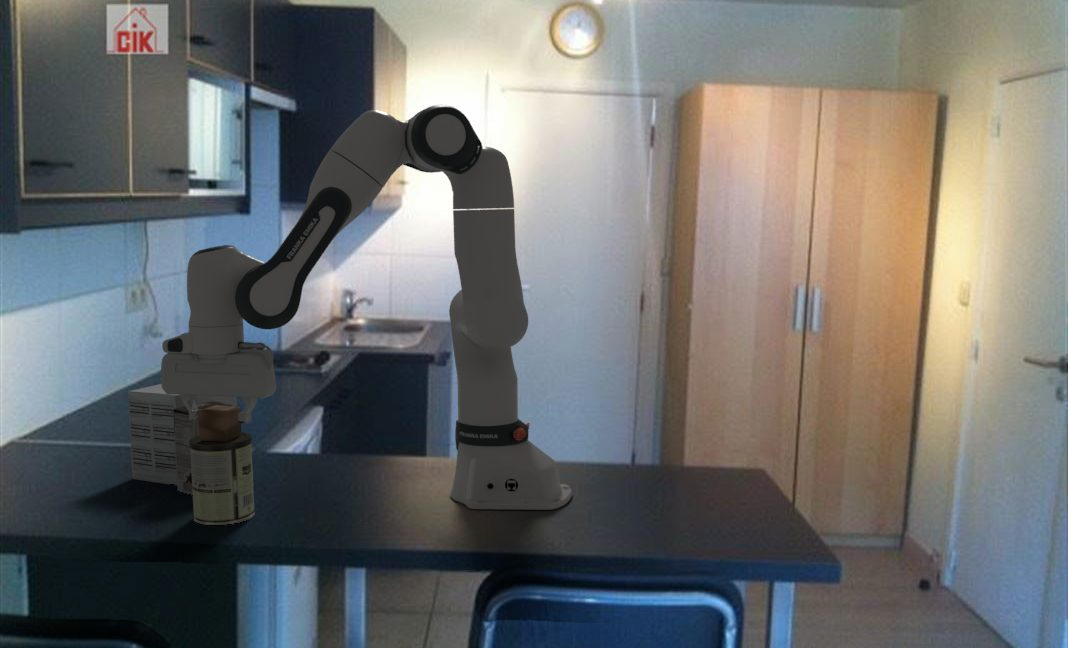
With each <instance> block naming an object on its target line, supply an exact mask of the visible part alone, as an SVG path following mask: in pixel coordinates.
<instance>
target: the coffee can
mask: <svg viewBox="0 0 1068 648" xmlns="http://www.w3.org/2000/svg"><path fill="white" fill-rule="evenodd" d="M241 433H242V435H241V436H239V437H236V438H234V439H231V440H229V441H227V442H220V441H203V440H199V436H196V437H193V438H191V439H190V440H189V445H190V454H191V473H192V491H193V496H192V504H193V505H192V507H193V509H192V510H193V519H194V520H193V522H194V521H195V522H197V523H200V524H204V525H225V526H227V525H226V524H232V525H235V524H234V523H238V524H240V522H242V523H244V522H243V521H245V522H247V521H249V520H251V519H252V518H253V517H254V516H255V515H256V512H255V494H254V473H253V472H254V471H253V454H252V453H253V452H252V450H253V449H252V441H253V440H252V439H253V437H252V436H253V435H252V434H250V433H249V432H243V431H241ZM246 520H247V521H246ZM195 522H194V523H195ZM197 523H196V524H197ZM204 525H203V526H204Z"/></svg>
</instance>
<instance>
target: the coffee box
mask: <svg viewBox="0 0 1068 648" xmlns="http://www.w3.org/2000/svg"><path fill="white" fill-rule="evenodd" d="M196 405H197V407H198V409H202V410H203V409H206V408H209V407H212V406H215V405H219V406H232V405H228V404H225V403H221V402H215V401H211V402H206V403H201V404H196ZM173 413H174V431H175V449H176V468H177V485H176V486H177V492H178V491H180V492H179V493H181V492H184V493H183V494H185V493H187V495H189V494H191V495H190V496H192V495H193V491H192V473H191V454H190V445H189V440H190V439H191V438H193V437H196V436H199V421H192V420H190V419H189V411H188V409H187V408H186V407H181V408H177V409H173Z"/></svg>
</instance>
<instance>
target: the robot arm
mask: <svg viewBox="0 0 1068 648" xmlns="http://www.w3.org/2000/svg"><path fill="white" fill-rule="evenodd" d="M402 166H405V167H409V168H411V169H414V170H416V171H418V172H422V173H432V174H433V173H441V172H442V173H443V174H445V176H447V179H448V180H449V183H450V185H451V191H452V215H453V217H452V218H453V220H452V221H453V222H452V223H453V246H454V247H453V249H454V250H453V251H454V252H453V253H454V256H455V260H456V263H457V264H456V265H457V269H458V274H459V281H460V286H461V289H460V290H459V291H458V292H457V293H456V294H454V296H453V298H452V300H451V301H450V304H449V310H448V311H449V312H448V313H449V321H450V327H451V329H450V331H451V339H452V347H453V348H452V349H453V357H454V361H455V362H454V363H455V369H456V380H457V382H456V383H457V420H456V422H455V428H454V429H455V430H454V431H455V435H454V439H455V441H454V442H455V449H456V451H457V454H456V462H455V463H456V465H455V473H454V477H453V478H454V479H453V483H452V486H451V491H450V494H449V495H450V498H452V499H453V500H454V501H455V502H458V503H461V504H464V505H465V506H466V507H467V508H469V509H471V510H517V511H518V510H525V511H528V510H529V511H531V510H533V511H535V510H536V511H541V510H543V511H545V510H546V511H550V510H556V509H558V508H561V507H563V506H565V505H566V504H568V502H569V501H571V498H572V497H573V492H572V488H571V486H570V485H568V484H565V483H561V480H560V473H559V470H558V469H559V468H558V466H557V464H556V462H555V460H554V459H553V458H552V457H551V456H550V455H548V454H547V453H546V452H544V451H543V450H542V449H540V448H539V447H537V445H536V444H534V443H532V442H531V441H530V440H529V429H530V422H527V423H524V422H523V421H522V420H520V419H519V417H518V416H519V412H518V411H519V409H518V408H519V407H518V406H519V404H518V403H519V402H518V401H519V400H518V399H519V398H518V397H519V394H518V392H519V391H518V390H519V389H518V387H519V386H518V385H519V383H518V381H519V380H518V376H517V372H516V368H515V365H514V364H515V363H514V359H513V353H512V347H513V346H515V345H517V344H518V343H519V342H521V340H522V339H523V338H524V336H525V334H526V332H527V330H528V327H529V314H528V311H527V309H526V306H525V301H524V293H523V287H522V282H521V281H522V280H521V275H520V271H519V270H520V269H519V265H518V260H517V258H518V257H517V252H516V251H517V250H516V229H515V228H516V224H515V221H516V220H515V198H514V189H513V188H514V187H513V180H512V174H511V170H510V166H509V161H508V159H507V157H506V155H505V154H504V153H503V152H502V151H500V150H498V149H497V148H494V147H490V146H486V145H485V146H483V143H482V141H481V140H480V138H479V136H478V135H477V133H476V131H475V130H474V128H473V125H472V124H471V122H470V121H469V119H468V117H467V115H465V114H464V113H463V112H462V111H461V110H459V109H458V108H456V107H454V106H450V105H447V104H435V105H431V106H429V107H426V108H424V109H422V110H420V111H419V112H417V113H416V114H414V116H412V117H411V118H409V119H408V120H405V121H402V120H399V119H396V118H395V117H394V116H392V115H391V114H389V113H388V112H385V111H381V110H378V109H370V110H367V111H364V112H363V113H361V115H359V116H358V117H357V118H356V119H355V120H354V121H353V122H352V123H351V124H350V125H349V126H348V127H347V128H346V129H345V131H344V132H343V133H342V134H341V135H340V136H339V137H338V138H337V140H336V141H335V142H334V144H333V145H332V146H331V147H330V148H329V150H328V151H327V153H326V155H325V156H324V158H323V159H322V161H321V162H320V164H319V166H318V168H317V170H316V172H315V174H314V177H313V178H312V180H311V183H310V187H309V190H308V196H307V199H306V203H305V206H304V209H303V211H302V213H301V215H300V217H299V219H298V220H297V222H296V224H295V225H294V226H293V228H292V229H290V230H291V231H290V232H289V233H288V234H287V236H286V237H285V238H284V240H283V242H282V243H281V245H280V246H279V248H278V249H277V250H276V252H274V254H273V255H272V256H271V257H270V258H269V259H268V260H267V261H263V260H260V259H258V258H256V257H253V256H251V255H248V254H246V253H245V252H243V251H241V250H240V249H238V248H237V247H236V246H234V245H231V244H223V245H218V246H212V247H207V248H203V249H199V250H197V251H196V252H194V254H192V256H191V257H189V260H188V264H187V272H186V298H187V302H188V305H189V310H190V313H189V314H190V316H189V319H188V332H184V333H182V334H180V335H177V336H175V337H171V338H168V339H166V340H164V341H163V342H162V351H163V352H164V353H165V354H164V355H163V357H162V359H161V363H160V384H161V385H162V389H163V390H164V391H165V393H166V394H179V395H182V401H183V403H184V405H185V406H186V408H187V409H188V411H189V419H190V420H192V421H199V418H198V411H201V410H202V409H198V407H197V405H196V403H195V401H194V399H196V395H202V396H225V397H237V398H242V403H243V404H244V408H243V411H241V412H240V413H238V417H239V419H238V421H239V423H241V424H249V423H251V422H252V411H253V410H254V408H255V406H256V404H257V403H258V399H265V398H269V397H272V396H273V395H274V393H275V392H276V391H277V381H276V379H277V378H276V373H275V368H274V352H273V350H272V349H271V347H269V345H266V344H265V343H264V342H249V341H247V342H246V341H245V335H244V321H245V322H246V323H247V324H249V325H250V326H252V327H254V328H257V329H261V330H275V329H278V328H281V327H283V326H286V325H287V324H288V323H289V322H291V321H292V320H293V319H294V317H295V316H296V314H297V312H298V311H299V307H300V303H301V299H302V294H303V293H302V292H303V288H304V284H305V283H306V280H307V278H308V277H309V275H310V273H311V272H312V271H313V269H314V267H315V266H316V264H317V263H318V262H319V260H320V259H321V257H322V256H323V254H324V253H325V252H326V250H327V248H328V247H329V246H330V244H331V243H332V241H333V240H334V239H335V237H336V236H337V235H338V234H339V233H340V232H341V231H342V230H343V229H344V228H346V227H347V226H348V225H350V224H351V223H352V222H353V221H355V219H357V218H358V217H359V216H360V215H361V214H362V213H363V212H364V211H365V210H366V209H367V208H369V206H370V205H371V203H373V202H374V201H375V199H376V198H377V197H378V195H379V194H380V193H381V191H383V188H384V187H385V186H386V184H387V182H388V181H389V180H390V178H391V177H392V176H393V174H394V173H395V172H396V171H397V170H398V169H399V168H400V167H402Z"/></svg>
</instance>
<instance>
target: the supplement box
mask: <svg viewBox="0 0 1068 648" xmlns="http://www.w3.org/2000/svg"><path fill="white" fill-rule="evenodd" d="M194 401H195V403H196V404H201V403H206V402H211V401H215V402H221V403H225V404H228V405H232V406H238V397H225V396H202V395H196V399H194ZM127 407H128V424H129V437H130V438H129V439H130V440H129V441H130V442H129V443H130V455H131V456H130V457H131V458H130V459H131V476H132V479H133V480H138V481H143V482H144V481H145V482H151V483H158V484H163V485H170V484H174V485H173V486H177V468H176V449H175V431H174V413H173V409H177V408H181V407H186V406H185V405H184V403H183V401H182V395H179V394H166V393H165V391H164V390H163V389H162V385H161V383H158V384H154V385H150V386H145V387H140V388H137V389H132V390H127Z"/></svg>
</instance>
